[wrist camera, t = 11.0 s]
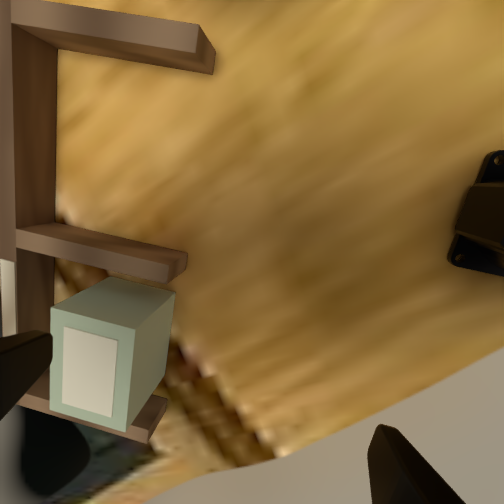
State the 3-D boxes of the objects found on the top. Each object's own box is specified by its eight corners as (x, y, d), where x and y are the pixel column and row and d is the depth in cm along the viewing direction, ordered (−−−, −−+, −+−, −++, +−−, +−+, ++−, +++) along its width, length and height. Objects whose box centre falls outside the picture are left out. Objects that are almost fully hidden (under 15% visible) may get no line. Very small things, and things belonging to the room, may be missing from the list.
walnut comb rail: (215, 51, 17) (198, 23, 14) (165, 411, 23) (146, 444, 20) (39, 23, 18) (-13, -10, 15) (39, 374, 24) (3, 401, 21)
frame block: (176, 291, 21) (134, 330, 15) (165, 373, 23) (124, 433, 17) (111, 275, 21) (49, 307, 16) (105, 357, 23) (48, 410, 18)
